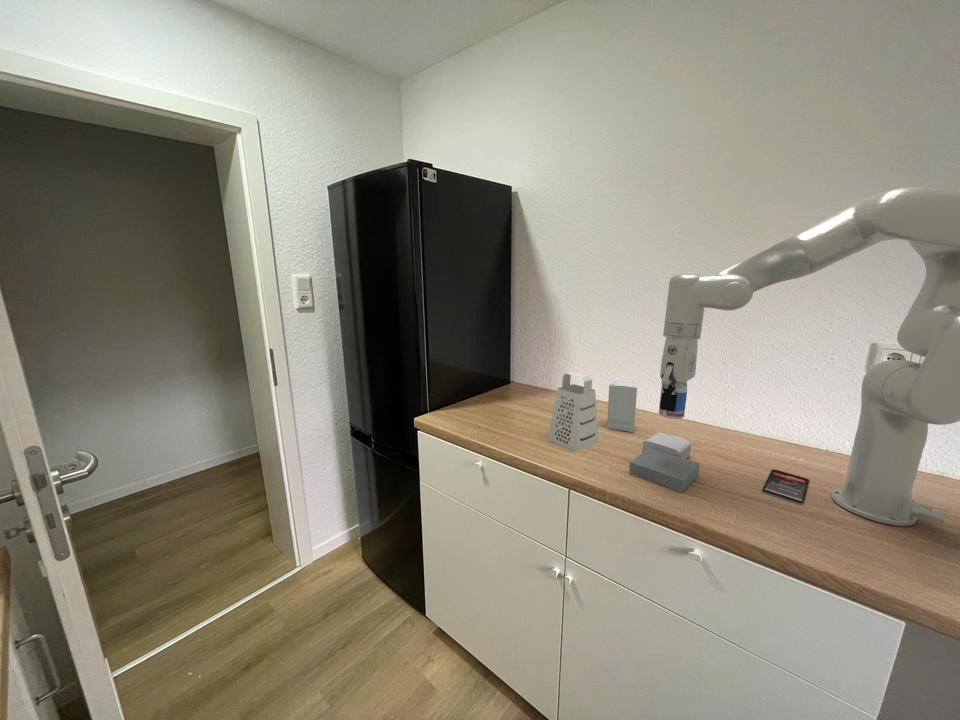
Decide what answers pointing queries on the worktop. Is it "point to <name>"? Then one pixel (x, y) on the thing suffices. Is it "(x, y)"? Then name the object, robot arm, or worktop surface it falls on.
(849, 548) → the worktop surface
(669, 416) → the pill bottle
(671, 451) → the charger
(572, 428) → the grater
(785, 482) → the smartphone
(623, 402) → the skincare box
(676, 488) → the grey pad
